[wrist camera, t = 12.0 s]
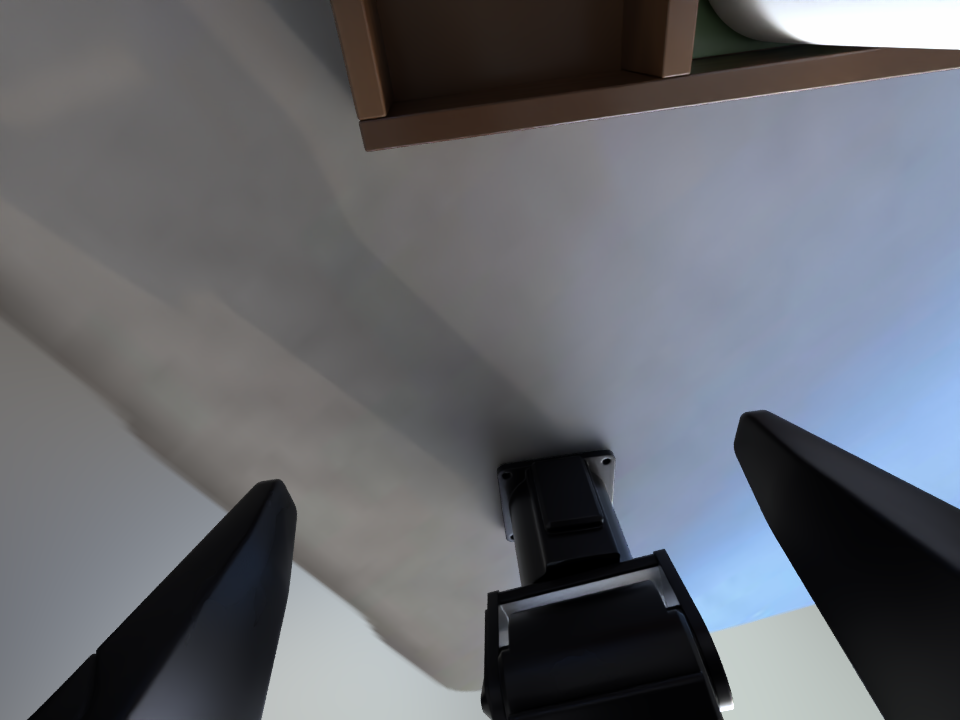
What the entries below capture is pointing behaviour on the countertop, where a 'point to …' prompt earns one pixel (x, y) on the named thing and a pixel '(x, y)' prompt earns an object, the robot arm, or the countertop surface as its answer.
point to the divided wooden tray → (571, 64)
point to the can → (846, 22)
